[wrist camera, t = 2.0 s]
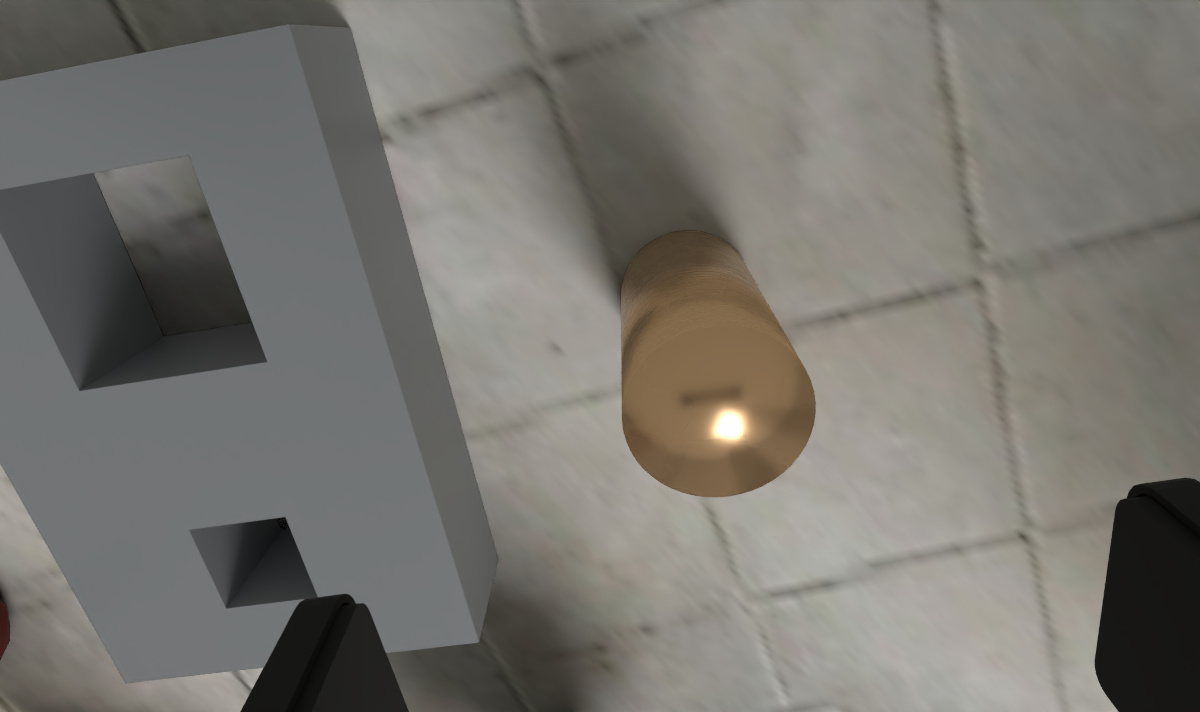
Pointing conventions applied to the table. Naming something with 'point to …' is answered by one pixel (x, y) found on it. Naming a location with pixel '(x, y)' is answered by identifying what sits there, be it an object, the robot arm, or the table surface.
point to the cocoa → (4, 628)
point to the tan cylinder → (707, 371)
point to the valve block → (231, 364)
